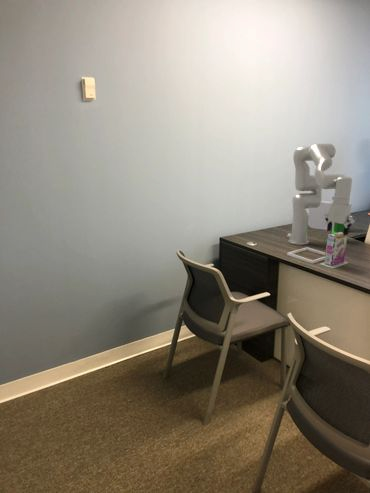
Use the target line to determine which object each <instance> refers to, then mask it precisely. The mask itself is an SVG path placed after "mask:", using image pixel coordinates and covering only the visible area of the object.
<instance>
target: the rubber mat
mask: <svg viewBox="0 0 370 493" xmlns="http://www.w3.org/2000/svg"><path fill="white" fill-rule="evenodd" d="M347 264H349V262H348V261H345V260H344V262H343V263H339V264H336V265H333V266H330V265H327V264H324V262H321V263H319V265H321V266H323V267H327V268H329V269H331V270H333V269H336V268H339V267H342V266H344V265H347Z"/></svg>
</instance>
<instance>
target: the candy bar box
mask: <svg viewBox="0 0 370 493" xmlns="http://www.w3.org/2000/svg"><path fill="white" fill-rule="evenodd" d="M348 236H349V235H343V233H342V232H338V233H334V234H332V233H331V234H330V233H329V234H327V239H326V248H325V255H324V257H325V260H323V261H324V262H323V263H324V264H327V265H330V266H333V265H336V264H339V263H343V262H344V261H345V257H346V256H345V255H346V248H347V242H348Z"/></svg>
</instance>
